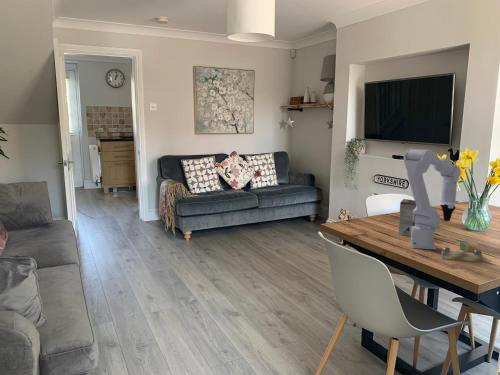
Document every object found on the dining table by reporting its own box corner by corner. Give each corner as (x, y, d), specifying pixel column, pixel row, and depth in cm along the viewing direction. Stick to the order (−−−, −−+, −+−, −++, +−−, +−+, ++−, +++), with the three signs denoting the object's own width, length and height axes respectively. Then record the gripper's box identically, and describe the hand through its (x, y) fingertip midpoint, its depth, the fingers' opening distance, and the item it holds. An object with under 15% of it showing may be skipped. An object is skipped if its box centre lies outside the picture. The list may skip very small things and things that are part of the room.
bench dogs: (443, 258, 155) (443, 248, 155) (442, 256, 157) (442, 246, 157) (481, 261, 151) (481, 251, 150) (479, 259, 153) (480, 250, 153)
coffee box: (401, 230, 196) (403, 198, 194) (414, 231, 193) (417, 200, 190) (397, 234, 188) (399, 202, 186) (412, 236, 185) (414, 203, 183)
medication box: (459, 250, 166) (459, 241, 165) (465, 249, 166) (466, 240, 165) (474, 259, 154) (475, 250, 153) (481, 259, 154) (482, 250, 153)
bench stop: (442, 258, 155) (442, 252, 155) (441, 256, 158) (441, 250, 157) (481, 261, 151) (482, 255, 151) (480, 259, 153) (480, 253, 153)
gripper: (462, 194, 167) (459, 225, 169) (455, 189, 180) (453, 217, 182) (444, 193, 169) (441, 224, 171) (439, 188, 182) (437, 216, 184)
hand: (446, 220), depth 177 cm, fingers closed
